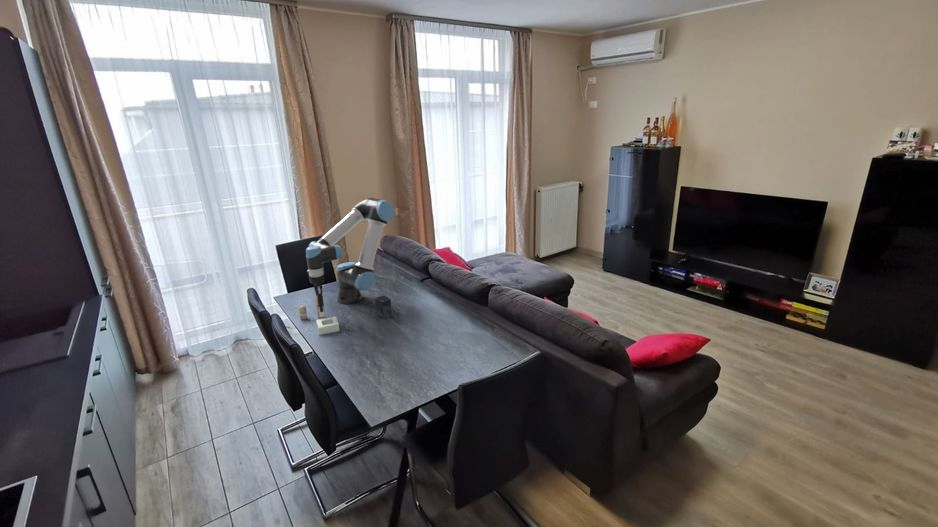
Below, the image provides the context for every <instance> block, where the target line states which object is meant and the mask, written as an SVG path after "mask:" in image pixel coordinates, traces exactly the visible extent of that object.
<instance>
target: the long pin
mask: <svg viewBox="0 0 938 527" xmlns="http://www.w3.org/2000/svg"><path fill="white" fill-rule="evenodd" d="M315 300H316V301H315V302H316V303H315V304H316V308H317V309H316V310H317V316H318V320H319V319H324V318H326V316H325V317H319V309H318V307H317V306H318V299H317V296H316V295H315ZM323 304H324V305H325V303H324V301H323ZM325 312H326V311H325V309H324V313H325ZM325 314H326V313H325Z"/></svg>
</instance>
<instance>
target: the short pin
mask: <svg viewBox="0 0 938 527" xmlns="http://www.w3.org/2000/svg"><path fill="white" fill-rule="evenodd" d="M298 311H299V318H300V320H307V319H308V312H307V306H306V305H299V306H298Z"/></svg>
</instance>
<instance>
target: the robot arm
mask: <svg viewBox="0 0 938 527" xmlns="http://www.w3.org/2000/svg"><path fill="white" fill-rule="evenodd" d="M394 214H395V208H394V206H393V203H392V202H390V201H388V200H385V199H382V198H381V199H380V198H374V197H367V198H366V199H363V200H361V201H359V202H358V203H357V204H356V205H354V206H353V207H352V208H351V210H350V212H349V213H347V215H345V217H343V218H342V219H341V220H340V221H338V223H336V224H335V225H334V226H333V227H332V228H331V229H330V230H328V231H327V232H326V233H325V234H324V235H323V236H321V237H320V238H319V239H318V240H313V241H311V242H310V243H309V244H308V247H306V249H305V258H306V262H307V271H306V272H307V273H308V278H309V283H310V284H312V285H313V288H314V292H315V297H316V296H317V299H318V306H317V305H316V308H317V307H318V309H319V317H325V318H326V313H324V310H325V303H324V304H323V302H324V296H323V294H324V292H323V285H322V284H323V283H324V282H325V280H326V279H325V270H324V263H328V262H331V261H336V260H339V259H341V258H342V257H343V255H344V252H343V251H344V250H343V248H342V247H341V246H340V245H339V244H336V243H337V242H339V241H340V240H341V239H342V238H343V237H345V236H346V235H347V234H348V233H349V232H350V231H351V230H353V228H354V227H356V226H357V225H358V224H359V223H360V222H364V220H367V222H368V225H367V227H366V232H365V236H364V239H363V241H362V245H361V249H360V253H359V257H358V260H357V262H354V261H349V262H343V263H339V264H338V265H336V276H337V284H338V290H337V294H336V302H338V303H340V304H344V305H345V304H346V305H348V304H354V303H358V302H359V301H361V300H362V299H363V293H362V291H363V292H364V291H368V290H370V289H371V288H372V287H373V286H374V284H376V276H375V273H374V271H375V268H374V267H373V265H374V262H375V258H376V254H377V250H378V247H379V244H380V239H381V236H382V232H383V229H384V227H385V226H387V225H388V222H389V221H391V220H392V219H393V217H394Z"/></svg>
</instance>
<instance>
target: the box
mask: <svg viewBox="0 0 938 527" xmlns="http://www.w3.org/2000/svg"><path fill="white" fill-rule="evenodd" d="M374 299H375V308H376V315H377V316H379V317H380V318H381V319H383V320H385V319H388V318H391V317H392V316H393V314H392V301H391V298H389V297H387V296H386V295H380V296H377V297H374Z"/></svg>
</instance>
